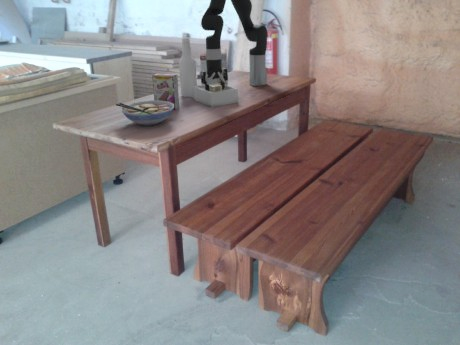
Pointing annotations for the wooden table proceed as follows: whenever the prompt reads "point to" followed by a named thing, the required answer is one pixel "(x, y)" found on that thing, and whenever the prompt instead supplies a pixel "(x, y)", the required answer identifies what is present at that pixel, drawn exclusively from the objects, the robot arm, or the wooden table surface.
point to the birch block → (215, 88)
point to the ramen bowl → (147, 111)
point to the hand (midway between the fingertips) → (215, 90)
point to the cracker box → (204, 66)
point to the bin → (215, 95)
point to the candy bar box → (166, 88)
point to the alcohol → (187, 70)
